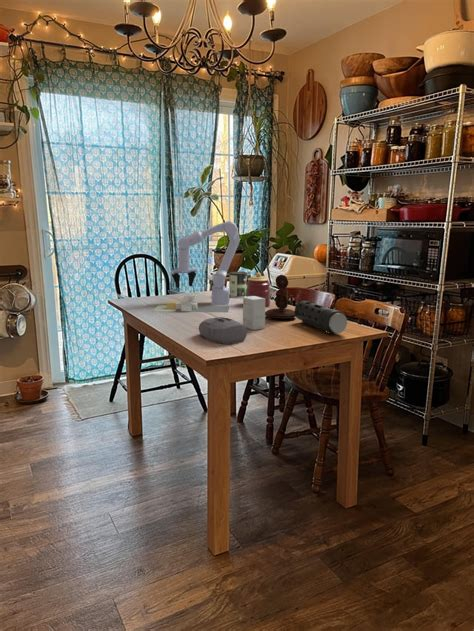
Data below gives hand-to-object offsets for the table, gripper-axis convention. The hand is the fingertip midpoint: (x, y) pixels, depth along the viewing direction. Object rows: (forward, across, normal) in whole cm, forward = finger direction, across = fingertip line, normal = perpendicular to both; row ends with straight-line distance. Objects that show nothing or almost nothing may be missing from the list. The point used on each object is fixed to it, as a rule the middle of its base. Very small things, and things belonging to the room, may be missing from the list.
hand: (184, 286), depth 256 cm
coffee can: (+10, +39, +5) cm, 40 cm away
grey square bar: (+9, -5, -12) cm, 16 cm away
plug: (+9, -8, -11) cm, 16 cm away
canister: (+10, +31, -23) cm, 40 cm away
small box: (+10, -1, -62) cm, 62 cm away
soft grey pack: (+10, -22, -68) cm, 73 cm away
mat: (+9, -3, -14) cm, 17 cm away
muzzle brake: (+10, +21, -79) cm, 82 cm away
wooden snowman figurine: (+10, +22, -53) cm, 58 cm away
